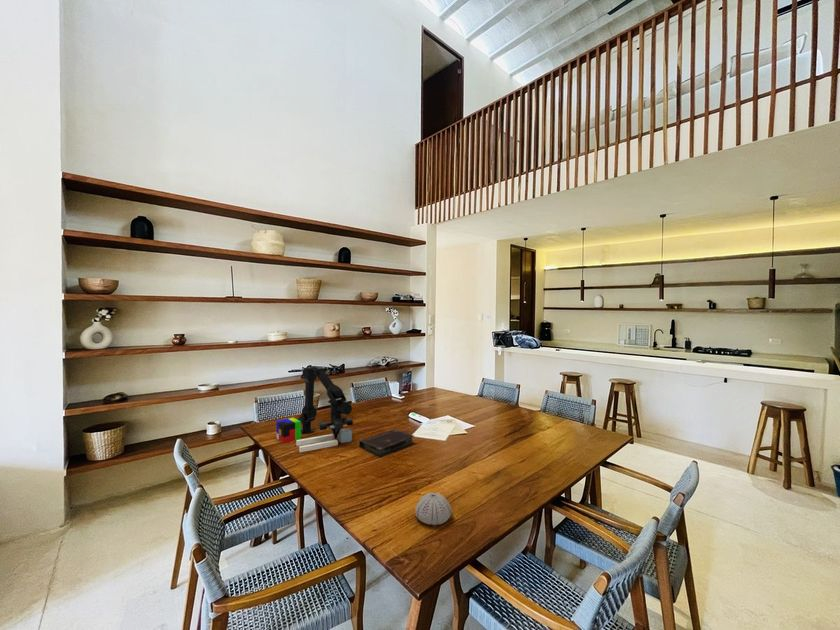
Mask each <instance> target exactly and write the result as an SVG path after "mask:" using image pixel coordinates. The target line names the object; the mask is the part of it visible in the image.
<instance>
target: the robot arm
mask: <svg viewBox="0 0 840 630" xmlns="http://www.w3.org/2000/svg"><path fill="white" fill-rule="evenodd" d="M302 378H303V380H304V383H305V387H304V389H305V390H304V391H305V392H304V393H305V394H304V406H303V408H302V410H301V413H300V414H301V415H299V417H298V418H297V420H299V421H301V435H302V434H303V435H304V434H308V433H310V434H311V433H314V430H313V428H312V427H313V426H312V425H313V424H312V423H313V422H314V421H315V420H316V417H317V415H318V413H317V411H318V409H317V407H315V405H314V401H315V400H314V397H315V396H314V393H315V381H316V379H317V378H318V380H319V381H320V382H321V384H322V385H323V386H324V388H325V390H326V395H327V397H328V398H329V400H328V401H327V402H328V403H329V404H330V411H329V412H330V413H329V415H330V419H329V421H330V422H326V421H319V422H318V423H317V428H318V429H319V430H320V431H324V430H327V428H328V429H329V430H330V431H331V432H332V434H333V439H334V440H338V433H339V431H340V430H341V429H344V426H345V425H346V426H349V427H350V426H353V425H354V421H353V419H352V418H351V417H342V415H346V416H349V415H350V414H351V413H352V411H353V407H352V404H350V401H347V398H346V396H345V394H344V392H343V391H344V390H343V389H342V388H341V387H340V386H339V385H336V384H335V383H333V381H332V380H331V378H330V377H329V375H327V372H326V371H325V369H324V368H323V367H316V366H309V367H304V369H302Z"/></svg>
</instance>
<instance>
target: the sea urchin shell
mask: <svg viewBox="0 0 840 630" xmlns="http://www.w3.org/2000/svg"><path fill="white" fill-rule="evenodd" d="M451 507H452V506H451V504H450V503H449V500H447V499H446V497H445V496H444V495H442V494H441V493H438V492H429V493H425V494H424V495H423V496H421V498H420V499H419V500H418V501H417V503H416V505H415V507H414V508H415V509H414V510H415V511H414V514H415V517H416V518H417V519H418V520H419V521H421V523H424V524H427V525H432V526H438V525H443V524H444V523H446V522H447V521H448V519H450V517H451V516H452V508H451Z"/></svg>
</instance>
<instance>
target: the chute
mask: <svg viewBox="0 0 840 630" xmlns="http://www.w3.org/2000/svg"><path fill="white" fill-rule="evenodd" d="M295 441H296V442H295V445H296V447H298V449H299V450H298V452H299V453H305V452H310V451H314V450H315V451H316V450H320V449H326V448H330V447H331V448H332V447H335V446H336V447H337V446H338V445H339V439H334V435H333V433H330V434H325V435H318V436H312V437H306V438H301V439H297V440H295Z"/></svg>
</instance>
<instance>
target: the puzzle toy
mask: <svg viewBox="0 0 840 630" xmlns="http://www.w3.org/2000/svg"><path fill="white" fill-rule="evenodd" d="M301 430H302V423H301V421H299V420H298V418H295V417H289V418H285V419H281V420H277V421H276V439H277V440H278V441H280V442H281V443H283V444H287V443H289V442H293V441H296V440H301V439H302V432H301Z"/></svg>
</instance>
